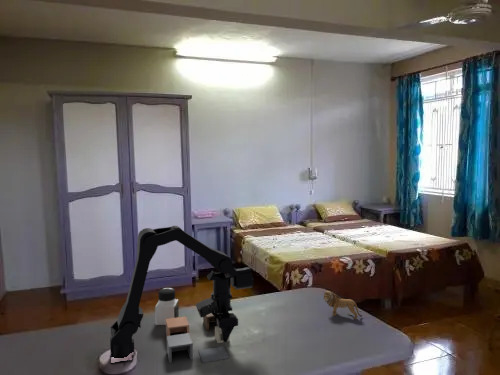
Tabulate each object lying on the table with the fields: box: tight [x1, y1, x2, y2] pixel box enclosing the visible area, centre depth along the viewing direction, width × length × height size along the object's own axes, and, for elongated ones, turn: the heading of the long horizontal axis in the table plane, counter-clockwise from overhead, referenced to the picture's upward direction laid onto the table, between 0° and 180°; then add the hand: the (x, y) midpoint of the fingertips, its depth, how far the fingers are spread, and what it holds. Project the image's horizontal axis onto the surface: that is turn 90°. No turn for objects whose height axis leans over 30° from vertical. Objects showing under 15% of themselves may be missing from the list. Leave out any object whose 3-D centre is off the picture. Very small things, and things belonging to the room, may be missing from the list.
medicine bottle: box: [154, 287, 180, 326], centre depth 146 cm, size 7×7×12 cm
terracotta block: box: [165, 316, 190, 337], centre depth 134 cm, size 7×7×5 cm
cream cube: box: [214, 325, 231, 344], centre depth 132 cm, size 4×4×4 cm
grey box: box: [166, 332, 194, 364], centre depth 122 cm, size 7×7×5 cm
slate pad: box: [198, 346, 230, 364], centre depth 122 cm, size 8×7×1 cm
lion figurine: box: [322, 290, 363, 320], centre depth 151 cm, size 15×5×9 cm, turn 73°
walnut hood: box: [202, 313, 216, 331], centre depth 143 cm, size 7×7×5 cm
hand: (222, 336), depth 132 cm, fingers open, 8 cm apart
